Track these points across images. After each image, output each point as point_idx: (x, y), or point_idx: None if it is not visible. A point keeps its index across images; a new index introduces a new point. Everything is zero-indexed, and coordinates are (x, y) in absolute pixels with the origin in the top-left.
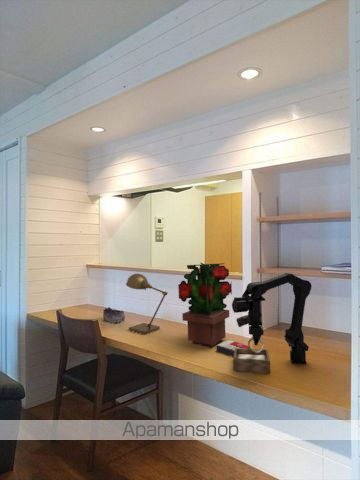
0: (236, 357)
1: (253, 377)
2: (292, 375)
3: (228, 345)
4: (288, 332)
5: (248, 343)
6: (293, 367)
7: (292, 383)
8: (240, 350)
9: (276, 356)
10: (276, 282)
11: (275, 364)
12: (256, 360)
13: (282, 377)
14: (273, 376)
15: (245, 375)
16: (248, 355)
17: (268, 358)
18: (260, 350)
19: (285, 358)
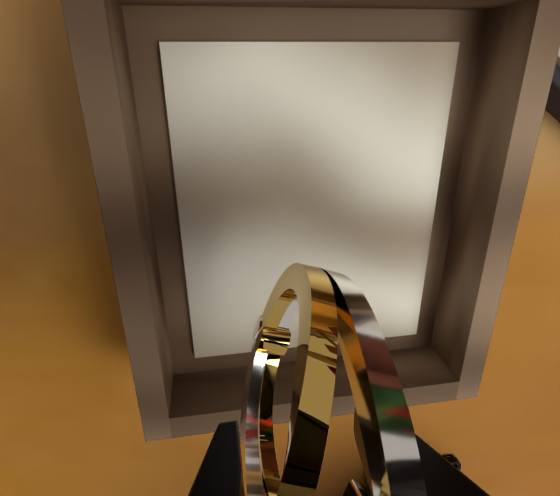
0: (344, 7)
1: (7, 225)
2: (161, 481)
3: None
4: None
5: (306, 299)
6: None
7: (18, 491)
8: (511, 65)
9: (501, 372)
10: None
11: None
12: (122, 311)
13: (102, 433)
14: (99, 378)
15: (25, 141)
16: (412, 176)
17: (212, 424)
18: (242, 415)
19: (459, 426)
